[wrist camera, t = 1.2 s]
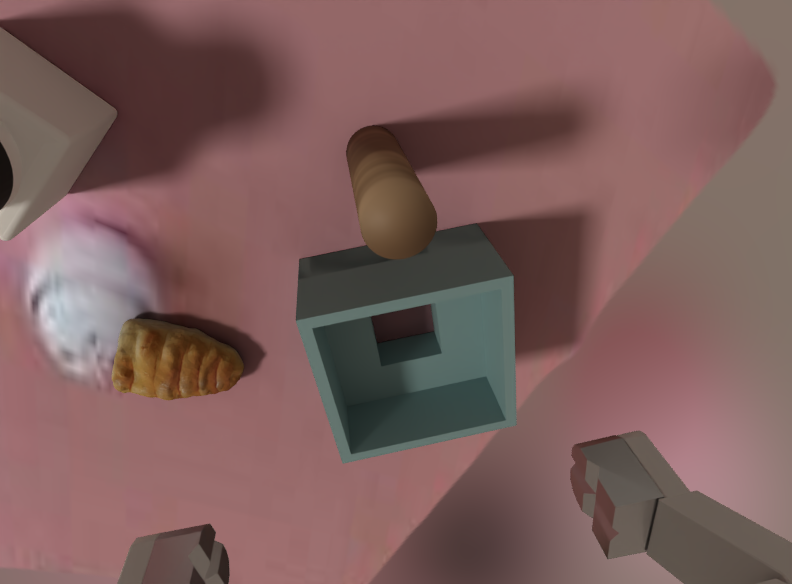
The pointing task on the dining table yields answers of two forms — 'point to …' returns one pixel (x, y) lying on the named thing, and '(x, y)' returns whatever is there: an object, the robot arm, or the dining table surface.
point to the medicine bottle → (42, 133)
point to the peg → (388, 196)
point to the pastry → (172, 361)
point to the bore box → (411, 343)
